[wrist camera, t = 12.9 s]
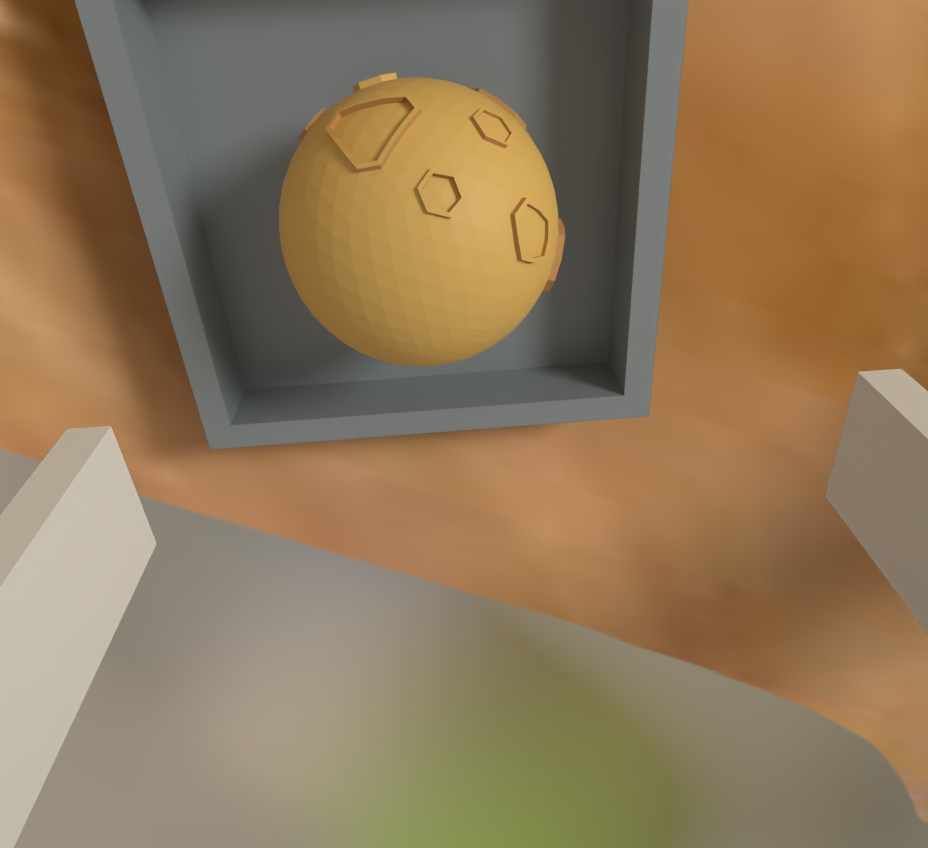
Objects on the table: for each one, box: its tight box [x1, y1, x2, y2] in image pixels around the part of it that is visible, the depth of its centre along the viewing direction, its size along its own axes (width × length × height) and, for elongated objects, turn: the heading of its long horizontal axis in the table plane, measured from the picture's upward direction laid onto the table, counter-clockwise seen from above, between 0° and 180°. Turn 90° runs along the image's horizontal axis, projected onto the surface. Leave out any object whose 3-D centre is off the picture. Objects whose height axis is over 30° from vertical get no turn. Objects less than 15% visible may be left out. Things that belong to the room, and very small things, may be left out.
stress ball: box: [279, 72, 565, 366], centre depth 26 cm, size 10×10×10 cm
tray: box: [75, 0, 688, 450], centre depth 29 cm, size 20×20×4 cm
